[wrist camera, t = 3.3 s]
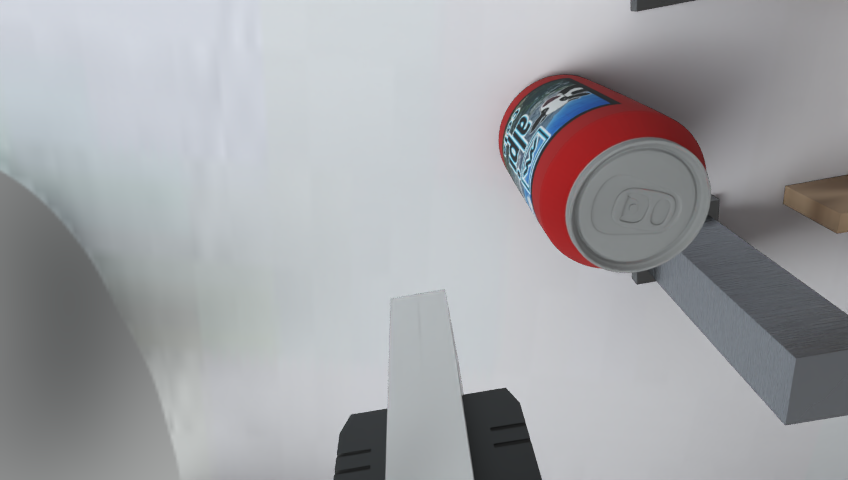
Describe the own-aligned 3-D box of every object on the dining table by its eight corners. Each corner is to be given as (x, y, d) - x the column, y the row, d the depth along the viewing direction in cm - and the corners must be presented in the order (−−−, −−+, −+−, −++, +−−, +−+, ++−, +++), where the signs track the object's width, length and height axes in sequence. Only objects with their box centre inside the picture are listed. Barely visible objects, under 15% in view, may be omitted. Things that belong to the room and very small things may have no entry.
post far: (632, 278, 35) (765, 441, 22) (631, 209, 33) (778, 346, 20) (707, 265, 35) (885, 421, 22) (712, 195, 33) (911, 324, 20)
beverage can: (511, 61, 29) (580, 104, 18) (627, 83, 30) (762, 136, 19) (483, 178, 32) (529, 277, 21) (591, 195, 32) (689, 298, 21)
